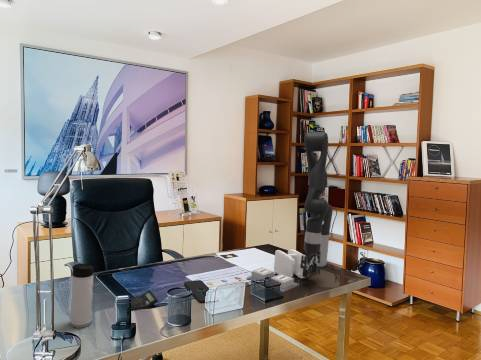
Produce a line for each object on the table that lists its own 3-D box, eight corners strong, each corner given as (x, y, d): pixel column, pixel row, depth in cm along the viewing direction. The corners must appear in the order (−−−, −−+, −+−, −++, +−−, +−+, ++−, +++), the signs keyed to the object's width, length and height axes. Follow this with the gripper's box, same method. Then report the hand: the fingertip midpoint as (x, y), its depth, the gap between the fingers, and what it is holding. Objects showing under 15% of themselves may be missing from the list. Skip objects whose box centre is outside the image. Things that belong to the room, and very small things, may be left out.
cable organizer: (272, 271, 187) (274, 248, 186) (290, 269, 192) (292, 247, 191) (288, 282, 174) (290, 258, 173) (307, 280, 178) (309, 256, 177)
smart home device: (199, 300, 144) (183, 281, 162) (199, 304, 144) (183, 285, 162) (219, 297, 148) (201, 279, 166) (219, 302, 148) (201, 283, 166)
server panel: (263, 273, 183) (264, 264, 183) (298, 285, 171) (299, 276, 170) (246, 279, 173) (247, 270, 173) (282, 292, 161) (283, 283, 160)
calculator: (120, 301, 141) (120, 293, 141) (150, 297, 147) (150, 289, 147) (125, 312, 133) (126, 304, 133) (157, 307, 139) (158, 299, 139)
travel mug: (65, 324, 121) (67, 264, 119) (83, 317, 127) (85, 259, 125) (77, 330, 118) (79, 269, 116) (95, 323, 124) (97, 264, 122)
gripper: (313, 237, 182) (309, 269, 183) (297, 241, 171) (294, 276, 172) (327, 240, 177) (323, 273, 179) (312, 245, 166) (308, 280, 168)
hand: (309, 274), depth 175 cm, fingers open, 8 cm apart
